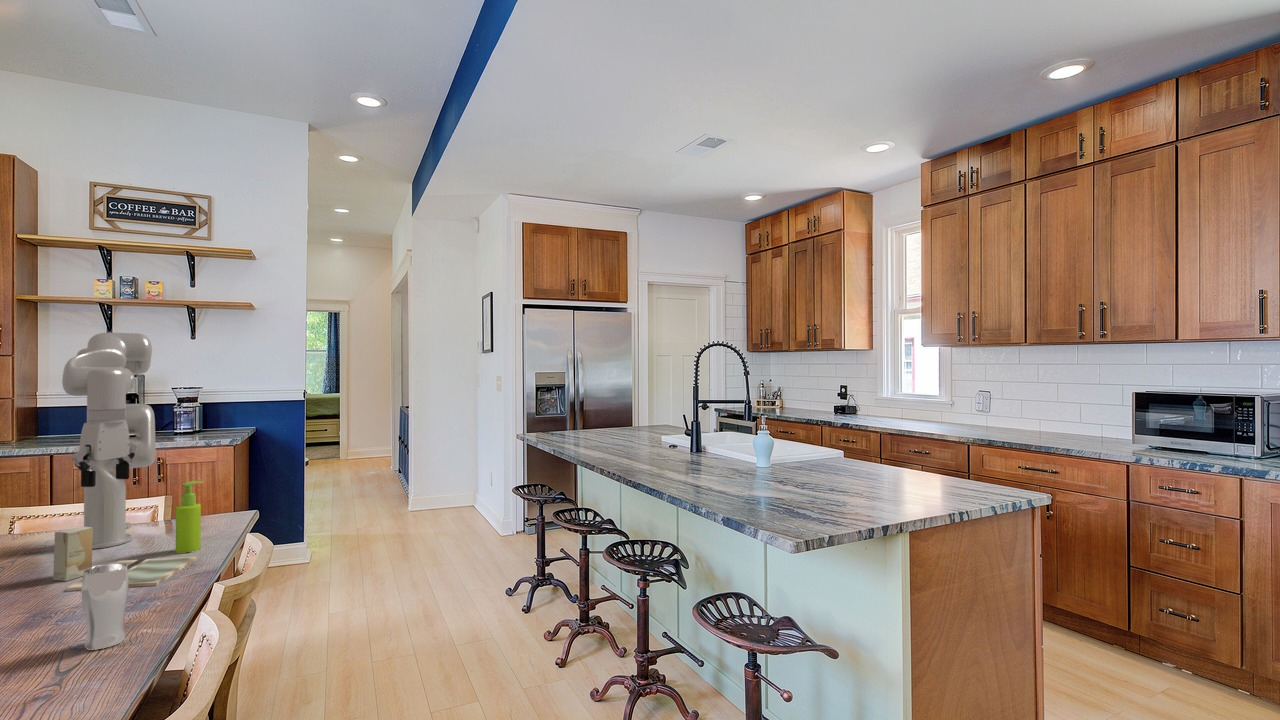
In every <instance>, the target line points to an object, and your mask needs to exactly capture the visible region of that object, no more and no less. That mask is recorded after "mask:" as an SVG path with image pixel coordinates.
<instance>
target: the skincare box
mask: <svg viewBox="0 0 1280 720" xmlns="http://www.w3.org/2000/svg"><path fill="white" fill-rule="evenodd" d="M92 539H93V527H84V526H83V525H82V526H77V527H71V528H66V529H64V530H60V531H59V530H58V531H54V543H53V544H54V548H53V549H54V550H53V552H54V553H53V575H52V579H53V580H54V581H64V582H67V581H70V580H71V581H72V580H74V579H77V578H81V577H83V572H84V570H86V569H88V568H91V567H93V565H92V564H93V561H92V560H93V549H92Z"/></svg>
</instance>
